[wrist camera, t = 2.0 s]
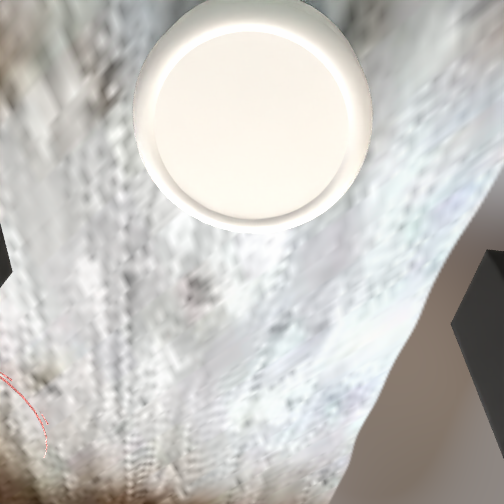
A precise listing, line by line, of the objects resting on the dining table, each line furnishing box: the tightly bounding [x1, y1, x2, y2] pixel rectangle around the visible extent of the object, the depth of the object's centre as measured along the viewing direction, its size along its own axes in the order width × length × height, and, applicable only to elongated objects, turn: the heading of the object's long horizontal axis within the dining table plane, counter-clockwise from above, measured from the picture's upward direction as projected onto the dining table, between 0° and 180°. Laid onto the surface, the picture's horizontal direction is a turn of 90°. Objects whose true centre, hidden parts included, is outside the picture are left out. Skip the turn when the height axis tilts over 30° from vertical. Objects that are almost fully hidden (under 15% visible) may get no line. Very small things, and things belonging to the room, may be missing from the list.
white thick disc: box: [133, 0, 373, 233], centre depth 21 cm, size 10×10×4 cm
